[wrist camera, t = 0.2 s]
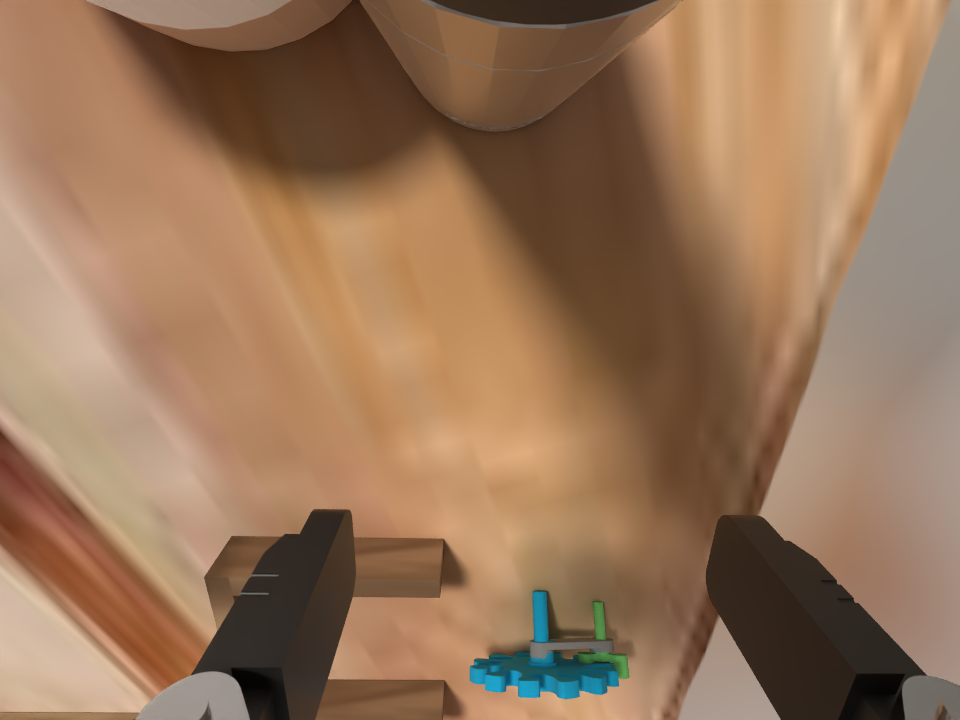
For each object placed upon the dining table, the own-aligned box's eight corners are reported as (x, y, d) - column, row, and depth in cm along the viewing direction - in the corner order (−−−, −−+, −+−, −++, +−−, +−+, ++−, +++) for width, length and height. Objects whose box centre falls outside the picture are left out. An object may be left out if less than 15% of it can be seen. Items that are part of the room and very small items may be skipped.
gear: (457, 675, 35) (488, 717, 26) (459, 587, 37) (488, 598, 28) (594, 669, 37) (666, 706, 28) (588, 586, 39) (653, 596, 30)
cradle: (231, 536, 32) (204, 577, 29) (443, 538, 32) (439, 579, 29) (265, 692, 38) (245, 740, 34) (444, 692, 38) (441, 741, 35)
